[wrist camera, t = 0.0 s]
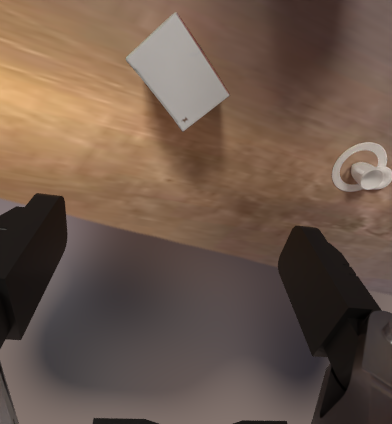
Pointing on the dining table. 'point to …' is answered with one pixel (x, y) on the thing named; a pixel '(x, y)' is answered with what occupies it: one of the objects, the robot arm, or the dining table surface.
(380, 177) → the white pacifier
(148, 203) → the dining table surface
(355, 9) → the dining table surface
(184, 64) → the small box
